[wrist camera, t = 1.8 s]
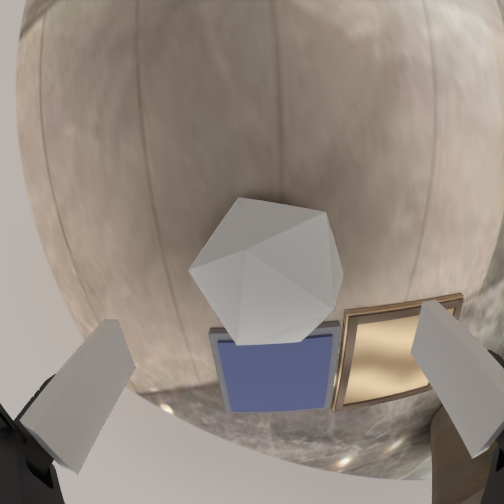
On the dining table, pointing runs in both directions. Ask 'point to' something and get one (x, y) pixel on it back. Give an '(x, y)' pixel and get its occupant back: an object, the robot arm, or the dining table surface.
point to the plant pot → (455, 465)
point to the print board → (382, 354)
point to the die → (270, 272)
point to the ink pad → (277, 371)
